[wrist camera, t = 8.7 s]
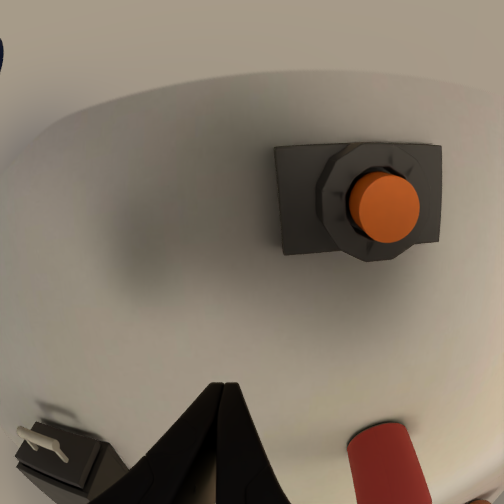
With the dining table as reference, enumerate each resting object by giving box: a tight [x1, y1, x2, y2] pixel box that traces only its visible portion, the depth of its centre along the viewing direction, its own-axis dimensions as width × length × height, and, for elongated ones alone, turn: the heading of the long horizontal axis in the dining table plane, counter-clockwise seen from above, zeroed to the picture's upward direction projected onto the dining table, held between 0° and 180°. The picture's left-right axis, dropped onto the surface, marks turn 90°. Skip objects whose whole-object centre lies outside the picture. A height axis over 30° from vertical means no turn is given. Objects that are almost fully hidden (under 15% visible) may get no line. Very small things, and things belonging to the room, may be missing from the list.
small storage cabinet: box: [17, 441, 129, 504], centre depth 26 cm, size 13×12×9 cm
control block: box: [274, 142, 442, 262], centre depth 15 cm, size 10×6×3 cm, turn 96°
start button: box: [349, 171, 420, 243], centre depth 14 cm, size 3×3×2 cm
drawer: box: [15, 421, 101, 491], centre depth 24 cm, size 15×10×7 cm
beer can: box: [347, 422, 432, 504], centre depth 19 cm, size 7×7×12 cm
